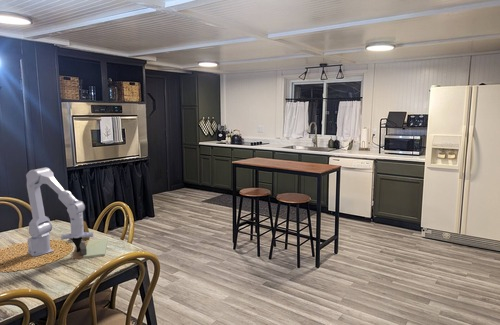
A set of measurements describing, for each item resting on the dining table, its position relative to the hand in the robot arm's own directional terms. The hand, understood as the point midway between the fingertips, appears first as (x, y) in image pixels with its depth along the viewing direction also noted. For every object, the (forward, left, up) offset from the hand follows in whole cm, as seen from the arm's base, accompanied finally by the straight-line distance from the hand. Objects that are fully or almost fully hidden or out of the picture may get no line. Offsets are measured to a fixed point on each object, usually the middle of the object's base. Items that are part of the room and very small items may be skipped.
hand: (78, 251), depth 173 cm
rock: (+11, +23, -2) cm, 26 cm away
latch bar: (+2, 0, -1) cm, 2 cm away
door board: (+8, +3, -2) cm, 9 cm away
